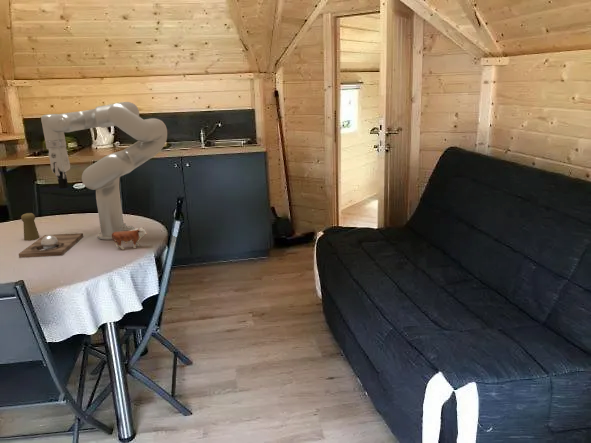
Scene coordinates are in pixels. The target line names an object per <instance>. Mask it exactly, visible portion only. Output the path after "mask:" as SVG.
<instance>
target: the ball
mask: <svg viewBox="0 0 591 443" xmlns="http://www.w3.org/2000/svg"><path fill="white" fill-rule="evenodd" d="M46 235H47V236H45V237H43V236H42V237H43V239H42V241H41V245H42V247H43V250H49V249H53V248H56V247H57V245H58V240H57V238H56V237H55V236H53V235H54V234H46Z"/></svg>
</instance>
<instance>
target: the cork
mask: <svg viewBox="0 0 591 443" xmlns="http://www.w3.org/2000/svg"><path fill="white" fill-rule="evenodd" d="M20 220H21V222H23V239H24V241H35V240H38V239H40V238H41V236H40V234H39V231H38V228H37V225H36V222H35V220H36V215H35V214H34V213H32V212H26V213H24V214H22V215H20Z"/></svg>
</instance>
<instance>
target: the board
mask: <svg viewBox="0 0 591 443" xmlns="http://www.w3.org/2000/svg"><path fill="white" fill-rule="evenodd" d="M47 235H48V234H44V235H42V236H40V238H38V239H36V241H34V242H33V243H31V244H30V245H29V246H28V247H26V248H25V249H23V250H22V251H21V252H19V253H18V257H19V258H36V257H49V256H50V257H57V256H63V255H64V254H66V253H67V252H68V251H69V250H70V249H71V248H72V247H74V246H75V244H77V243H78V242H79V241H80V240H81V239H82V238H83V237H84V233H83V232H78V233H57V234H54V233H53V234H52V235H53V236H55V237H56V238H57V240H58V245H57V247H56V248H53V249H49V250H46V249H44V248H43V247H42V245H41V241H42V239H43V237H45V236H47Z"/></svg>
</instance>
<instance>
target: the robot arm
mask: <svg viewBox="0 0 591 443" xmlns="http://www.w3.org/2000/svg"><path fill="white" fill-rule="evenodd" d="M40 120H41V124H42V132H43V136H44V141H45V147H46V150H48V156H49V157H48V158H49V162H50V169H51V172H52V173H53V174H55V177H57V182H58V187H59V188H58V189H68V188H69V183H68V178H67V177H68V175H67V172H68V171H70V169H71V163H70V162H71V161H70V159H69V155H68V154H69V153H68V150H67V142H66V136H65V133H71V132H76V131H77V132H78V131H81V130H87V129H94V128H103V129H104V128H111V127H117V128H118V129H120V130H121V131H122V132H124V133H126V135H128V136H130V137H131V138H133V139H134V140H136V142H134V143H133V144H131V145H130V146H128V147H126V148H124V149H122V150H119V151H115V152H112V153H109V154H106V155H105V156H103V157H102V158H100V159H98V161H96V162H94V163H92V164H91V165H89V166H88V167H86V168H85V169H84V170H83V172H82V174H81V182H82V184H83V186H84V187H86V188H87V189H88V190H92V191H94V190H95V199H96V206H97V214H98V220H99V228H100V232H99V233H98V234H97V238H98V239H100V240H103V241H104V240H109V241H110V240H113V239H112V234H113V233H114V232H121V231H130V230H133V229H135V226H133V225H127V224H126V222H124V217H123V216H124V214H123V208H122V201H121V200H122V199H121V193H120V192H121V191H120V178H121V177H123V176H125V175H128V174H130V173H131V172H132V171H134V170H135V169H137V168H138V167H140V166H142V165H143V164H144V163H146V162H147V161H149V160H151V159H152V158H154V157H155V156H156V155H157V154H159V153H160V152H161V151H162V149H163V148H164V146H165V145H166V143H167V140H168V128H167V126H166V124H165V123H164V121H163V120H162V119H159V118H155V117H153V118H152V117H151V118H146V119H143V118H142V117H141V116H140V109H139V108H138V106H137V105H136V104H135V103H133V102H130V101H122V102H116V103H112V104H111V103H110V104H107V105H106V104H105V105H98V106H96V107H95V108H92V109H87V110H81V111H79V110H78V111H72V112H65V113H63V112H62V113H59V114H58V113H49V114H47V113H46V114H43V115H41V117H40ZM113 238H114V237H113Z"/></svg>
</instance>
